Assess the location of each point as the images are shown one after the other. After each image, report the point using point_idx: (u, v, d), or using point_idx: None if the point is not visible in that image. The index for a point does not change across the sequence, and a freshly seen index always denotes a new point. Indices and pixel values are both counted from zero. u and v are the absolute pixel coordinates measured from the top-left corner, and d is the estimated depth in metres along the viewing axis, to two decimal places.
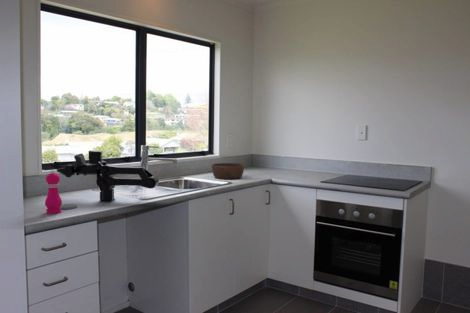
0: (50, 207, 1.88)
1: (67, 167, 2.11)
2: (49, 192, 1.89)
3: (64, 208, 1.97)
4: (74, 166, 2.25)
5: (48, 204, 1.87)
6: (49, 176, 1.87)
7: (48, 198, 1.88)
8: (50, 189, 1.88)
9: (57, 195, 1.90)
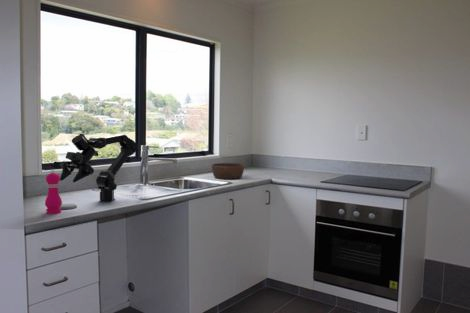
0: (50, 207, 1.88)
1: (87, 166, 1.96)
2: (49, 192, 1.89)
3: (64, 208, 1.97)
4: (65, 170, 2.02)
5: (48, 204, 1.87)
6: (49, 176, 1.87)
7: (48, 198, 1.88)
8: (50, 189, 1.88)
9: (57, 195, 1.90)
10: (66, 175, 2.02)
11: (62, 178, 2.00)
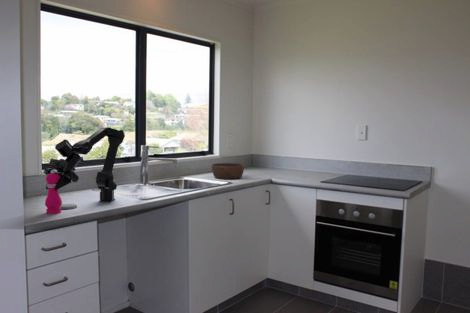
0: (50, 207, 1.88)
1: (71, 174, 1.88)
2: (49, 192, 1.89)
3: (64, 208, 1.97)
4: None
5: (48, 204, 1.87)
6: (49, 176, 1.87)
7: (48, 198, 1.88)
8: (50, 189, 1.88)
9: (57, 195, 1.90)
10: None
11: None
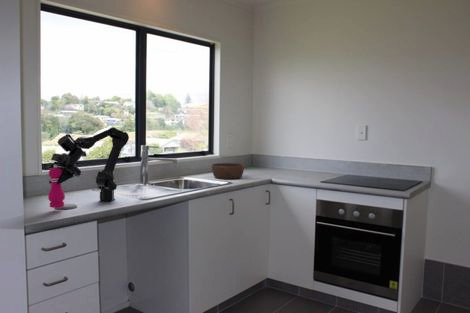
0: (53, 201, 1.91)
1: (73, 168, 1.90)
2: (52, 186, 1.91)
3: (64, 208, 1.97)
4: None
5: (51, 198, 1.90)
6: (52, 170, 1.90)
7: (51, 192, 1.91)
8: (53, 183, 1.91)
9: (60, 189, 1.92)
10: None
11: None
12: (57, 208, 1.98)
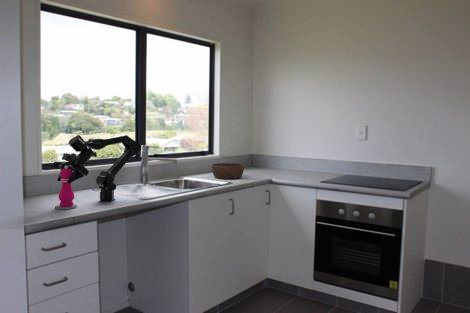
0: (62, 200, 1.99)
1: (80, 168, 1.97)
2: (62, 186, 2.00)
3: (64, 208, 1.97)
4: None
5: (60, 197, 1.98)
6: (63, 171, 1.98)
7: (61, 192, 1.99)
8: (63, 183, 1.99)
9: (69, 189, 2.00)
10: None
11: (59, 179, 2.03)
12: (57, 208, 1.98)
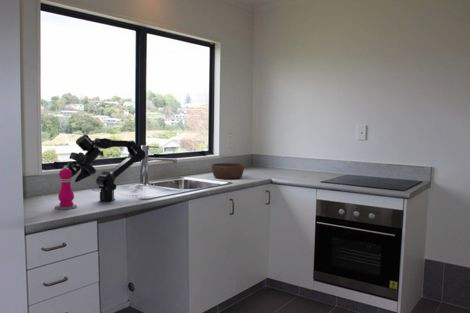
0: (62, 200, 1.99)
1: (88, 167, 2.00)
2: (62, 186, 2.00)
3: (64, 208, 1.97)
4: None
5: (60, 198, 1.98)
6: (62, 171, 1.98)
7: (60, 192, 1.99)
8: (62, 184, 1.99)
9: (69, 189, 2.00)
10: None
11: None
12: (57, 208, 1.98)
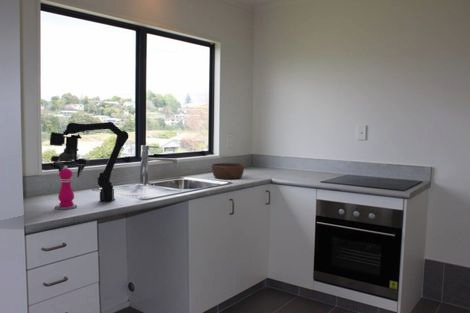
0: (62, 200, 1.99)
1: (86, 163, 2.10)
2: (62, 186, 2.00)
3: (64, 208, 1.97)
4: (60, 165, 2.13)
5: (60, 198, 1.98)
6: (62, 171, 1.98)
7: (61, 192, 1.99)
8: (62, 183, 1.99)
9: (69, 189, 2.00)
10: (62, 168, 2.15)
11: None
12: (57, 208, 1.98)
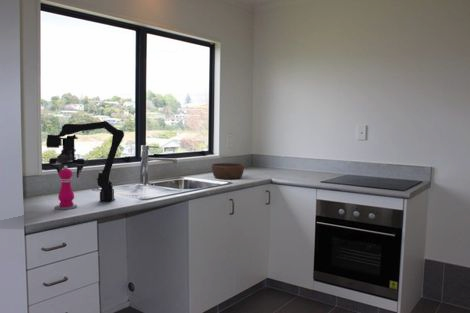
0: (62, 200, 1.99)
1: (84, 162, 2.11)
2: (62, 186, 2.00)
3: (64, 208, 1.97)
4: (59, 167, 2.13)
5: (60, 198, 1.98)
6: (62, 171, 1.98)
7: (61, 192, 1.99)
8: (62, 183, 1.99)
9: (69, 189, 2.00)
10: (61, 169, 2.16)
11: None
12: (57, 208, 1.98)
